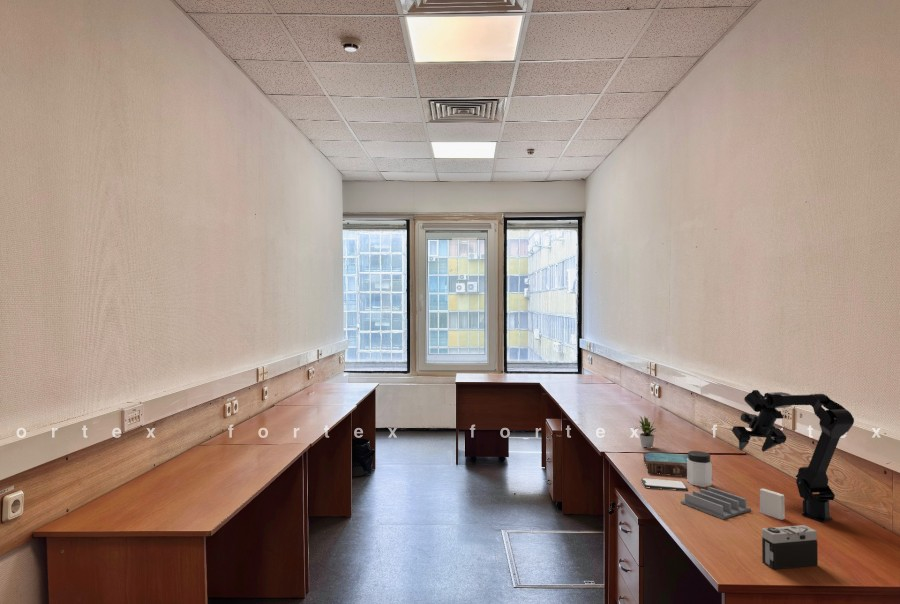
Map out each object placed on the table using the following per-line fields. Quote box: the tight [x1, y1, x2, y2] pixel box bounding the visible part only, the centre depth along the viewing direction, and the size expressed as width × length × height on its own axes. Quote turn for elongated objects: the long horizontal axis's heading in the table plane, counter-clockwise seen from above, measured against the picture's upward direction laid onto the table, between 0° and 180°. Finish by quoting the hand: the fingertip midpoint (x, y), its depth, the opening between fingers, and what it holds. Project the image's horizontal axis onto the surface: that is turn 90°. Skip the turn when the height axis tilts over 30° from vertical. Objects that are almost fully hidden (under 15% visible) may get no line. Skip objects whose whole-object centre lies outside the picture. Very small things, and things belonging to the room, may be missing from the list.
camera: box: [761, 524, 819, 570], centre depth 141 cm, size 14×8×10 cm, turn 99°
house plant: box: [631, 415, 659, 449], centre depth 257 cm, size 14×14×16 cm
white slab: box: [759, 488, 786, 521], centre depth 171 cm, size 7×2×8 cm, turn 29°
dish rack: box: [680, 486, 752, 520], centre depth 179 cm, size 16×16×4 cm
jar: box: [686, 450, 713, 488], centre depth 203 cm, size 9×8×12 cm
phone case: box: [640, 477, 688, 491], centre depth 200 cm, size 9×2×16 cm
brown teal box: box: [642, 451, 688, 477], centre depth 220 cm, size 23×18×5 cm
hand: (751, 450), depth 199 cm, fingers open, 9 cm apart
